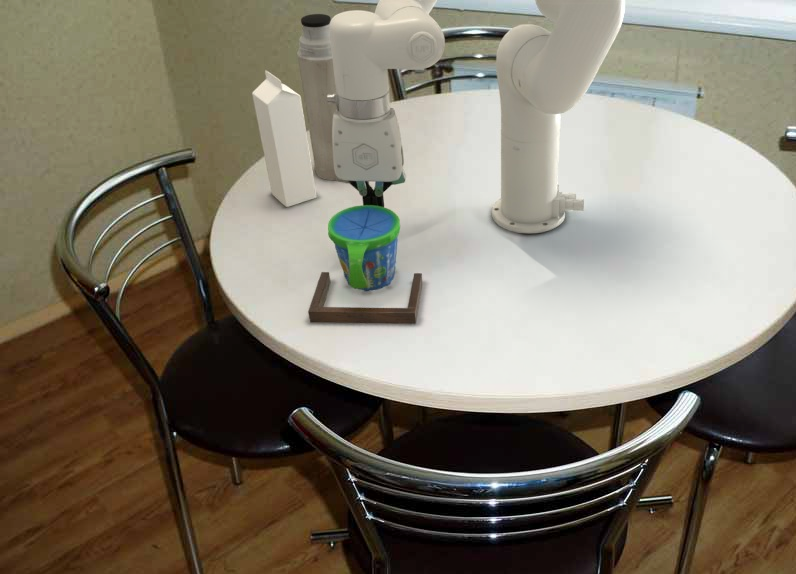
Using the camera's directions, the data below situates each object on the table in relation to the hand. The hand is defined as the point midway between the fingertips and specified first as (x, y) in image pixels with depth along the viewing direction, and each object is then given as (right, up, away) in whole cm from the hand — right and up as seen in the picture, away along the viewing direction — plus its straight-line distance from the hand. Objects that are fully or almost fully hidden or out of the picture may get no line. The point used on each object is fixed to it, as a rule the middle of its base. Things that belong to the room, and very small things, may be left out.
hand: (374, 214), depth 133 cm
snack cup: (0, -11, -3) cm, 11 cm away
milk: (-17, +6, +17) cm, 25 cm away
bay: (0, -15, -8) cm, 17 cm away
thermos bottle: (-11, +13, +25) cm, 30 cm away
